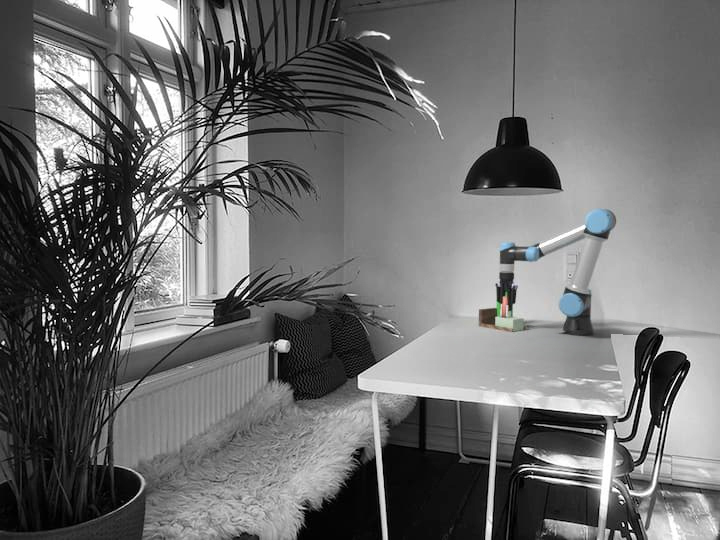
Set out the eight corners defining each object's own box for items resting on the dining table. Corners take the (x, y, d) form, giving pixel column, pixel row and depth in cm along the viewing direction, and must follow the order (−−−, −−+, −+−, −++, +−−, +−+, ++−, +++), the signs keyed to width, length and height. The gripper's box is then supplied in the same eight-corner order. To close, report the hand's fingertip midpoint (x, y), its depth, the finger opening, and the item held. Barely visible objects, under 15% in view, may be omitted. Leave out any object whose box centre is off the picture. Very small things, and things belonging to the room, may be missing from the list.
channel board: (527, 332, 329) (527, 312, 328) (511, 334, 322) (512, 314, 321) (494, 326, 347) (494, 307, 347) (478, 328, 341) (478, 309, 340)
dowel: (510, 319, 332) (510, 296, 331) (505, 320, 330) (506, 297, 329) (505, 318, 335) (505, 296, 334) (500, 319, 333) (501, 296, 332)
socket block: (523, 330, 328) (523, 318, 328) (512, 331, 324) (513, 319, 323) (505, 326, 338) (505, 315, 338) (495, 328, 333) (495, 316, 333)
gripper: (524, 272, 326) (522, 318, 328) (499, 270, 340) (498, 314, 341) (514, 273, 322) (512, 319, 324) (490, 271, 335) (488, 315, 337)
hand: (505, 316), depth 333 cm, fingers closed on dowel, 3 cm apart
